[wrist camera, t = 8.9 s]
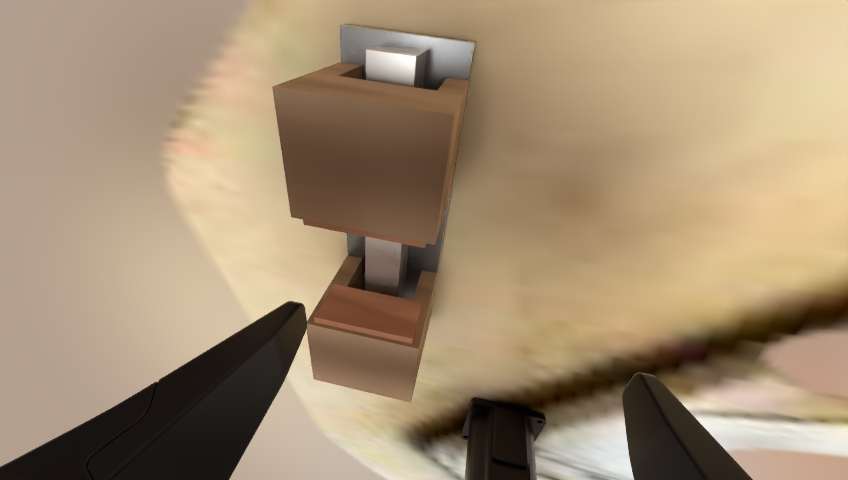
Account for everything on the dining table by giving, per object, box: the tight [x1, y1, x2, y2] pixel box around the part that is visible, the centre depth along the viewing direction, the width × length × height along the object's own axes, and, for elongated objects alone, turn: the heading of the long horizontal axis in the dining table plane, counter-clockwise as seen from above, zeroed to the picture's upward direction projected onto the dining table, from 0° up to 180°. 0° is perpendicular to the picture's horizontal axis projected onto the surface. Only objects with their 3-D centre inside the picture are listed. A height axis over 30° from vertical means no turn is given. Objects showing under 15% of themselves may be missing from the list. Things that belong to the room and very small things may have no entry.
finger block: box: [273, 62, 469, 248], centre depth 15 cm, size 5×6×6 cm
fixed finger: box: [307, 255, 437, 402], centre depth 21 cm, size 5×6×6 cm
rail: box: [340, 24, 476, 321], centre depth 19 cm, size 18×6×3 cm, turn 174°
